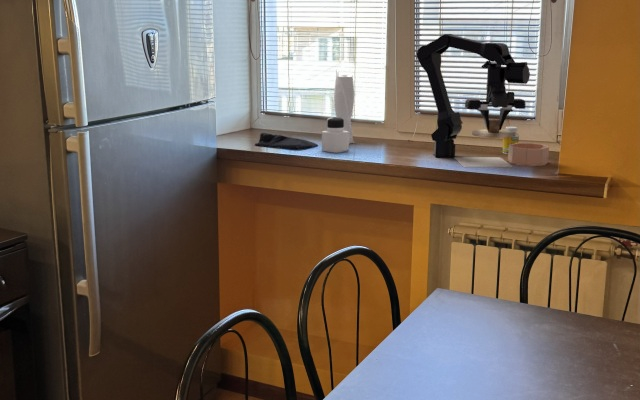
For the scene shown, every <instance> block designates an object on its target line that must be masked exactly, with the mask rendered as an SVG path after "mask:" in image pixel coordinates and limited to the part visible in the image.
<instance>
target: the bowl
mask: <svg viewBox="0 0 640 400" xmlns="http://www.w3.org/2000/svg"><path fill="white" fill-rule="evenodd" d="M549 151H550V147H549V146H548V145H546V144H543V143H535V142H534V143H533V142H518V143H514V144H510V145H509V154H507V156H508V157H507V158H508V159H507V161H509V162H508V163H509V164H511V165H512V164H513V165H517V166H522V167H523V166H525V167H538V166H539V167H541V166H545V165H547V164H548V163H549V155H550V152H549Z"/></svg>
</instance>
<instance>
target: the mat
mask: <svg viewBox="0 0 640 400" xmlns="http://www.w3.org/2000/svg"><path fill="white" fill-rule="evenodd" d="M454 160H455V161H457V162H458V164H460V165H461V166H462V167H463V168H496V167H497V168H503V167H505V168H512V167H514V166H513V165H512V164H511V163H510V162H507V161H506V160H504V159H503V158H502V157H500V156H498V157H497V156H496V157H495V156H494V157H491V156H490V157H489V156H487V157H480V156H479V157H474V156H473V157H469V156H468V157H454Z"/></svg>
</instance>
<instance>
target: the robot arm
mask: <svg viewBox="0 0 640 400" xmlns="http://www.w3.org/2000/svg"><path fill="white" fill-rule="evenodd" d="M449 48H453V49H458V50H460V51H465V52H469V53H473V54H476V55H479V56H480V57H481V58H482V59H485V60H486V61H485V63H484V64H482V65H481V69H487V78H486V79H487V80H486V95H485V96H486V97H485V100H484V101H483V100H480V99H478V98H467V99H466V100H465V102H464V108H466V109H467V110H476V111H478V112H480V114H481V116H482V118H483V122H484V125H485V127H486V128H485V129H487V130H489V120H490V117H489V115H490V110H489V109H488V108H491V107H493V108H495V109H496V108H499V119H498V120H500V127H499V130H502V128H503V125H504V124H505V121H506V118H507V116H508V115H509V113H510V112H513V111H514V109H516V110H518V109H519V110H520V109H521V110H525V109H526V101H525V100H524V99H523V98H522V99H521V98H515V92H514V91H508V92H507V90H506V82H507V83H508V84H522V85H524V84H525V85H526V84H528V82H529V80H530V76H531V73H530V68H529V66H528V62H527V61H523V62H521V61H520V62H516V61H515V60H514V58H513V57H512V55H511V54H510V49H509V46H508V45H507V44H506V43H504V42H503V43H502V42H485V41H480V40H479V41H478V40H475V39H470V38H467V37H462V36H459V35H455V34H453V33H443V34H442V35H440V36H439V37H438V38H436V39H434V40H432V41H430V42H428V43H427V44H425V45H421V46H420V47H419V48H418V49H417V51H416V58H417V60H418V63H419V65H420V66H421V68H422V69H423V70H424V72H426V74H427V78H428V82H429V85H430V89H431V93H432V95H433V99H434V103H435V107H436V110H437V120H436V126H437V128H436V129H435V131H433V132H432V133H431V135H430V137H431V139H432V141H433V142H434V145H433V154H432V156H434V158H436V159H453V158H454V159H455V156H456V144H455V140H456V139H457V137H458V135H459V134H460V133H461V131H462V129H463V125H462V124H464V123H463V121H462V119H461V115H460V112H459V111H457V112H455V111H454V110H453V108H452V105H451V102H450V97H449V94H448V92H447V87H446V84H445V81H444V77H443V73H442V71H441V68H442V67H441V66H442V55H443V54H444V53H446V52H447V50H449ZM513 108H514V109H513Z"/></svg>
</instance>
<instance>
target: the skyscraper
mask: <svg viewBox="0 0 640 400" xmlns="http://www.w3.org/2000/svg"><path fill="white" fill-rule="evenodd" d="M335 74H336V76H335V82H334V93H333V95H334V97H333V98H334V101H333V102H334V112H335V116H336V117H337V118H342V119H343V120H344V129H343V131H348V132H349V145H350V144H354V136H353V128H352V123H351V119H352V115H353V110H354V103H355V88H354V87H355V85H354V78H353V74H352V73H349V74H348V73H340V74H339V70H338V69H336V70H335Z"/></svg>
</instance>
